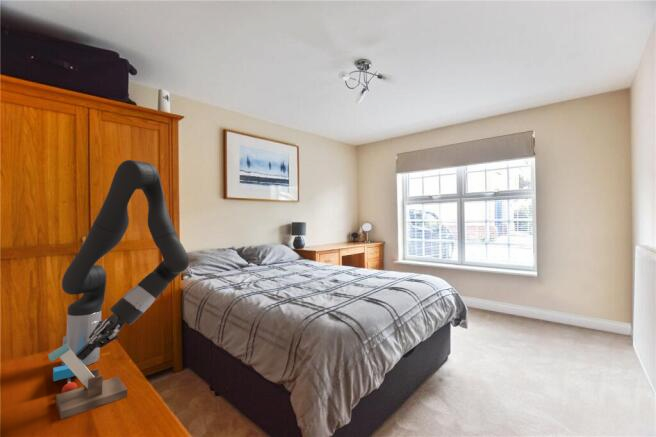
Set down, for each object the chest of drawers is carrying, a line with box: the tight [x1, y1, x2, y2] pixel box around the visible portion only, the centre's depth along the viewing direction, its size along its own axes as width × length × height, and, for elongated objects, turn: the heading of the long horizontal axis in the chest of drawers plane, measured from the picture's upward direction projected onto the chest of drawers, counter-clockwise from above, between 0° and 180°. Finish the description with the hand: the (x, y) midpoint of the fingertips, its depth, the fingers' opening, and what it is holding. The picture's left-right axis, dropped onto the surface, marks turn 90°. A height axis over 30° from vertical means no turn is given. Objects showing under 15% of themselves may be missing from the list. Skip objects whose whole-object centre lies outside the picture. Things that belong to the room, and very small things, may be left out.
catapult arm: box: [47, 344, 95, 389], centre depth 79 cm, size 4×4×14 cm
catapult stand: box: [55, 368, 128, 420], centre depth 82 cm, size 14×10×7 cm
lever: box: [52, 364, 85, 393], centre depth 90 cm, size 7×7×18 cm
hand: (79, 357), depth 80 cm, fingers closed
